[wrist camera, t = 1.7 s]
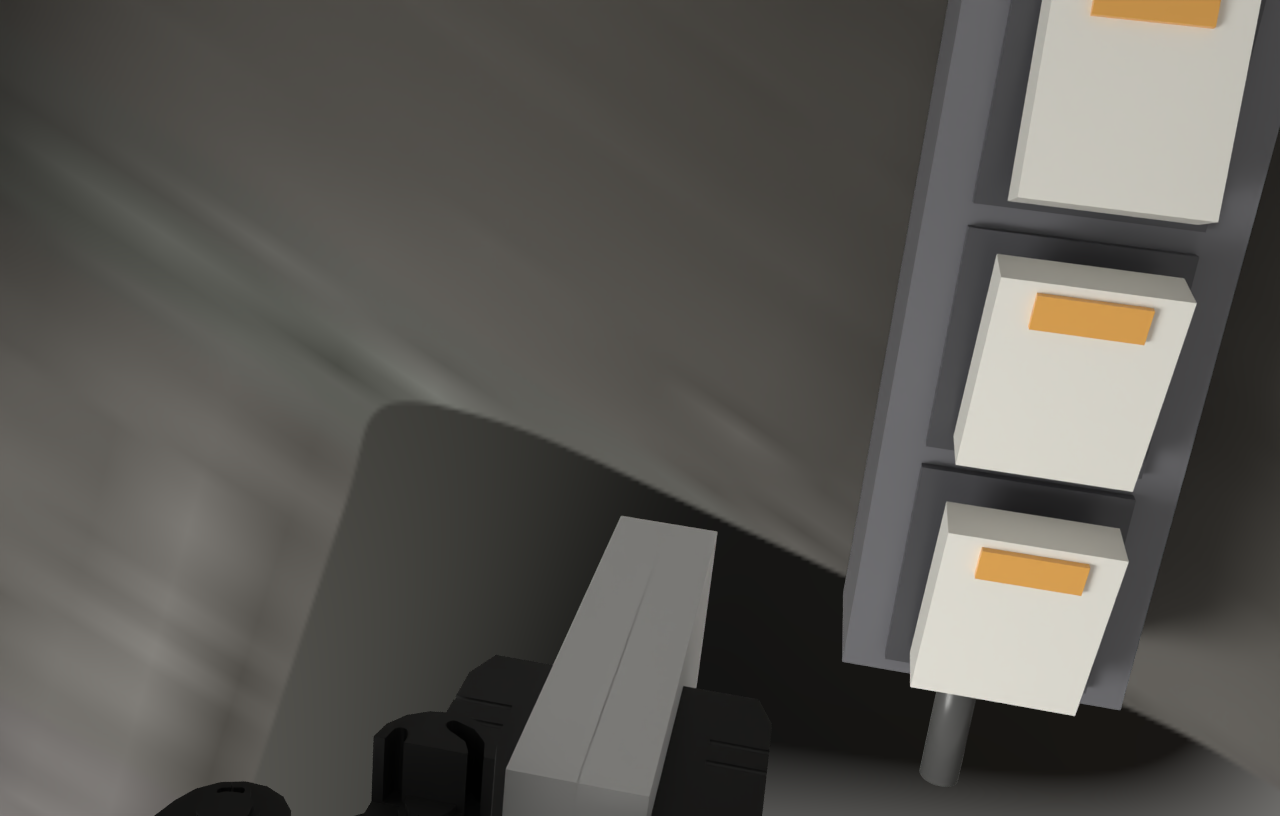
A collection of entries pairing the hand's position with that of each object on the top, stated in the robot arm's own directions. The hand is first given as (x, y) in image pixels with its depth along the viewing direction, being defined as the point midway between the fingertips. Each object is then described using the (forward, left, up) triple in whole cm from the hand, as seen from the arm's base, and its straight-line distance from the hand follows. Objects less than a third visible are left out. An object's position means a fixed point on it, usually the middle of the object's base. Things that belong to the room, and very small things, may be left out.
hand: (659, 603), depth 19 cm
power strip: (+9, -3, -24) cm, 26 cm away
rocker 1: (+9, +7, -18) cm, 21 cm away
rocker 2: (+9, 0, -18) cm, 20 cm away
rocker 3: (+9, -8, -18) cm, 21 cm away
